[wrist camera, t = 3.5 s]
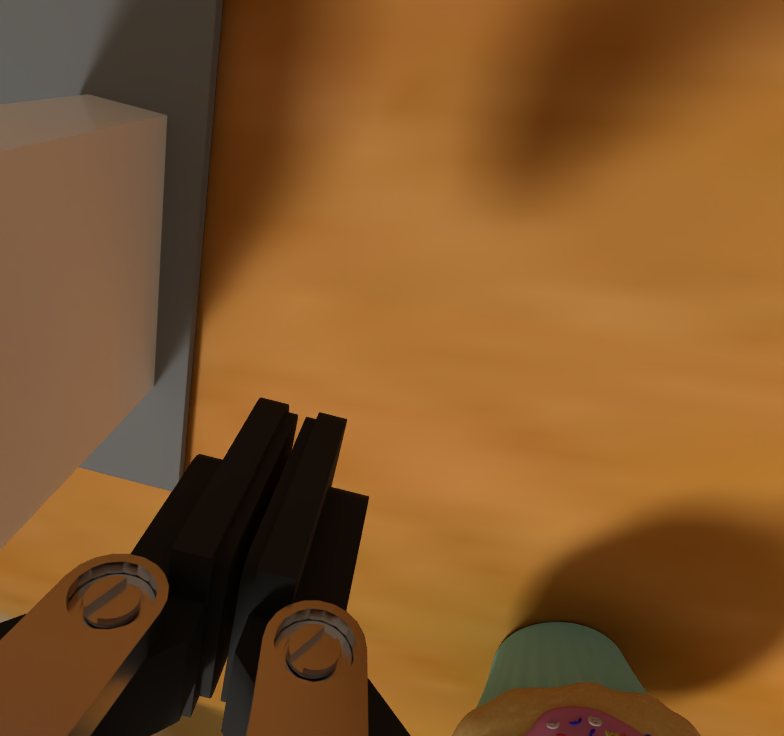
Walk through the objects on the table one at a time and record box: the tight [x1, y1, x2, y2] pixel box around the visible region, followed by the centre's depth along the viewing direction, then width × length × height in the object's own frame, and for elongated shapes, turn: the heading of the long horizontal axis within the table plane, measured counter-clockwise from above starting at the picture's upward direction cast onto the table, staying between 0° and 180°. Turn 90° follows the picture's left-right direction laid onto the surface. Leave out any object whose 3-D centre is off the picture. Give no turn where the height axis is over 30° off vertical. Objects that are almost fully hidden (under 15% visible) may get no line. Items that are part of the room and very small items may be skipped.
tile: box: [0, 94, 167, 550], centre depth 13 cm, size 8×2×8 cm, turn 167°
